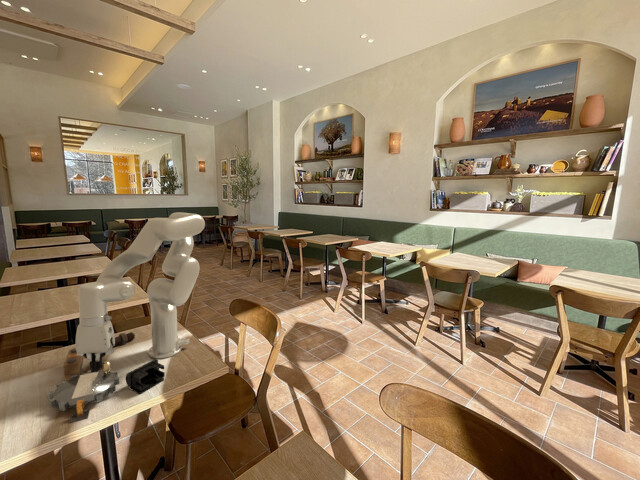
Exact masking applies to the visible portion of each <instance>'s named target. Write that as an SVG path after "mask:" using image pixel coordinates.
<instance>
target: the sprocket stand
mask: <svg viewBox="0 0 640 480" xmlns="http://www.w3.org/2000/svg"><path fill="white" fill-rule="evenodd" d="M89 415H90V409H86V410H84V408H83V403H82V402H81V403H77V407H76V413H72V415H71V419H70V423H74V422H79V421H82V420H86V419H88V418H89V417H90V416H89Z"/></svg>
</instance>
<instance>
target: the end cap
mask: <svg viewBox="0 0 640 480" xmlns="http://www.w3.org/2000/svg"><path fill="white" fill-rule="evenodd" d="M158 359H159V358H153V359H151V360H150V361H148V362H146V363H144V364H143V365H141V366H138V367H136V368H134V369H133V370H131V371H129V372H127V373H126V374H125V383H126V386H127V387H128V388H129V389H130V390H131V391H132V392H134V393H136V394H138V395H142V394H144V393H145V392H147V391H148V390H151V389H153V388H154V387H155V386H157V385H159V384H160V383H162V382H164V381H165V379H164V378H165V372H164V371H163V370H165V365H163V364H161V363H159V360H158ZM160 369H161V370H162V371H161V370H160Z"/></svg>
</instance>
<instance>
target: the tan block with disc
mask: <svg viewBox="0 0 640 480" xmlns="http://www.w3.org/2000/svg"><path fill="white" fill-rule="evenodd" d="M84 358H85V357H84V356H80V355H77V351H76V347H73V348H71V349H68V352H67V355H66V357H65V360H64V363H63V365H62V366H63V376H64V382H65V381H67V380H68V379H70V378H71V376H73V375H75V374H77V375H80V374H82V369H83V365H84V362H85V360H84Z"/></svg>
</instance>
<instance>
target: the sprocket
mask: <svg viewBox="0 0 640 480" xmlns="http://www.w3.org/2000/svg"><path fill="white" fill-rule="evenodd" d="M120 378H121V377H120V376H119V374H118V371H117V370H113V371H112V370H111V362H110V360H105V361H102V369H100V370H99V371H98V372H93V373H91V369H88V370H87V372H84V373H80V375H77V374H75V375H73V376H71V378H70V379H68V380H67V381H65V380H64V381H59V382H58V383H57V384H56V385H55V386H56V388H55V389H54V390H51V391H49V393H48V402H49V407H51V408H54V407H58V408H59V411H66V410H67V409H70V408H77V403H81V402H82V403H83V409H84V408H85V406H86V405H90V404H92V403H94V402H95V403H100V402H101V401H103V398H104V397H105V396H107V395H108V394H113V393H115V391H116V385H120V382H121V381H120Z"/></svg>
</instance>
